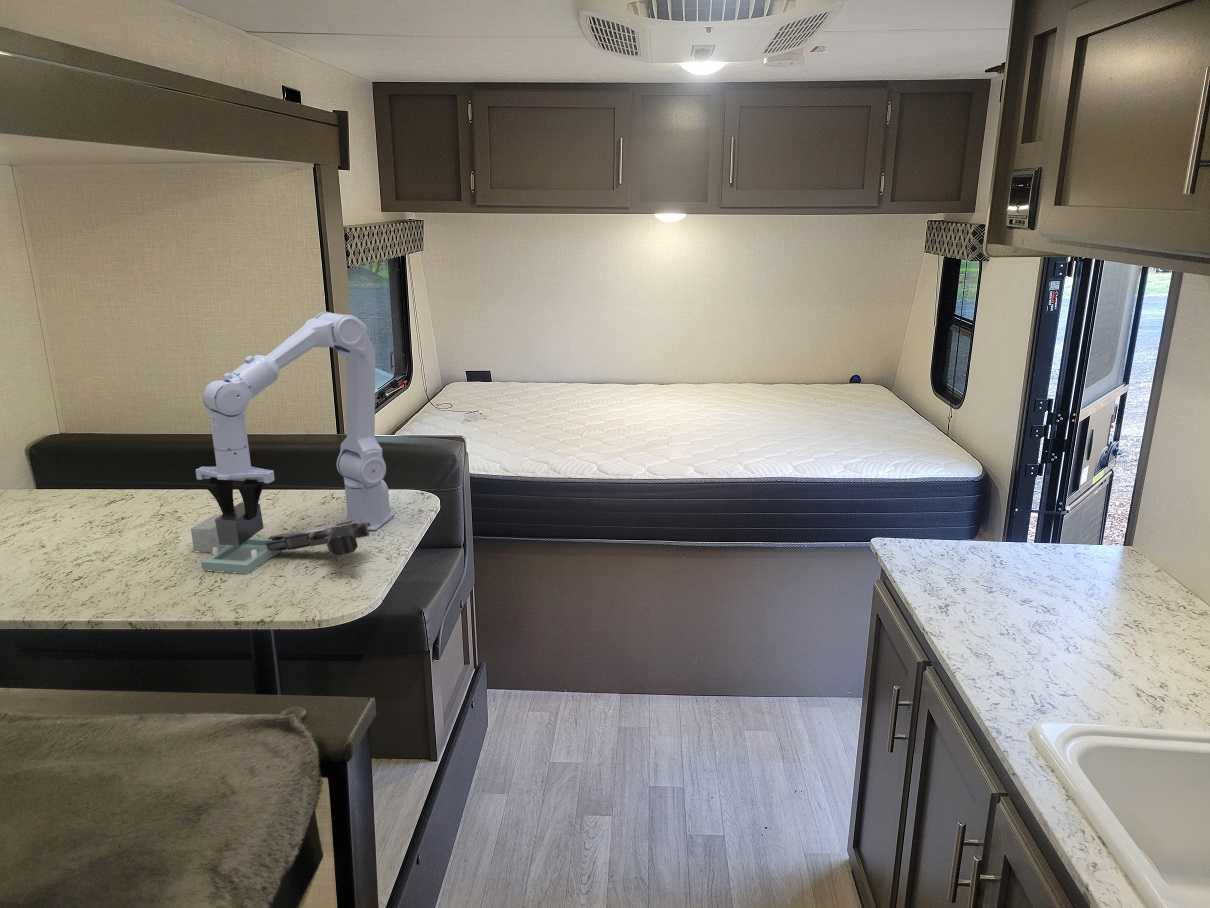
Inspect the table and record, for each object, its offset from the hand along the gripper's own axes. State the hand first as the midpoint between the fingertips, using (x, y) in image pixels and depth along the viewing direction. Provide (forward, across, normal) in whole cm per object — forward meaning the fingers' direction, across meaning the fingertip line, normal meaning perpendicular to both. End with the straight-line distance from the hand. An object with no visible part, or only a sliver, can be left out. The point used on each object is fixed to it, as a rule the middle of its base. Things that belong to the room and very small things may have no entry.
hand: (240, 517), depth 156 cm
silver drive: (+8, -10, +6) cm, 14 cm away
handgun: (+6, +14, 0) cm, 16 cm away
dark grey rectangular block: (+4, 0, 0) cm, 4 cm away
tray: (+8, 0, 0) cm, 8 cm away
